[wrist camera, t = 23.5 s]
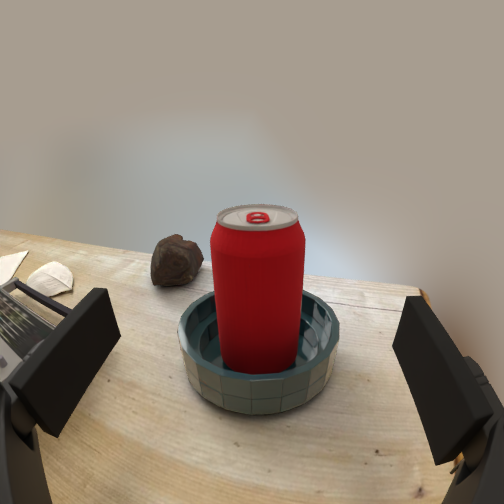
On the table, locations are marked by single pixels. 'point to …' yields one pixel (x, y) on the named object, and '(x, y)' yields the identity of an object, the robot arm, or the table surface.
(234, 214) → the beverage can
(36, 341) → the radio
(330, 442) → the table surface
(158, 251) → the brown rough lump
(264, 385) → the bowl
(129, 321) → the table surface
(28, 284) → the pale veined leaf
